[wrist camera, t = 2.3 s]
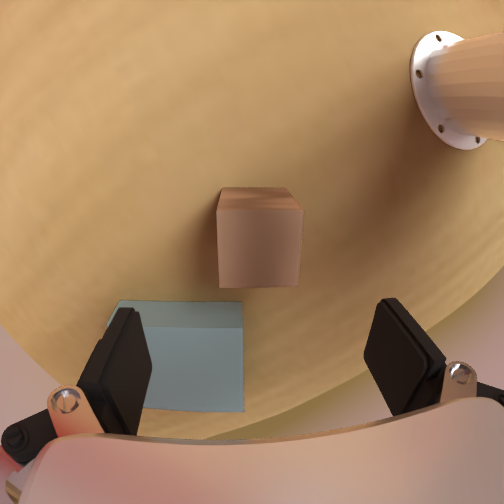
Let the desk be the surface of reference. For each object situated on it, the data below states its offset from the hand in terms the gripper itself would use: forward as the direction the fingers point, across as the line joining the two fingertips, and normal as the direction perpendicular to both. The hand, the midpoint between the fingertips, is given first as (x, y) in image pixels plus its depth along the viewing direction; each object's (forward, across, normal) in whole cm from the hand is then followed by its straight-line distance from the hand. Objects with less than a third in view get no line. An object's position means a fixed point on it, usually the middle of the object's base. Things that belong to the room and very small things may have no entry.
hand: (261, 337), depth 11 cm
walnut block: (+14, -1, 0) cm, 15 cm away
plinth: (+15, +6, +14) cm, 21 cm away
